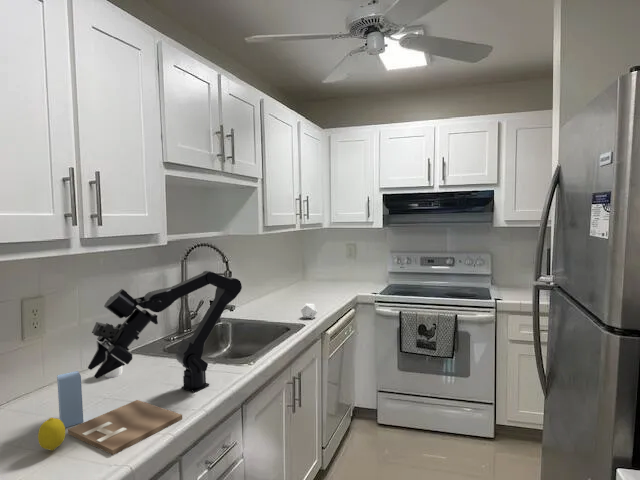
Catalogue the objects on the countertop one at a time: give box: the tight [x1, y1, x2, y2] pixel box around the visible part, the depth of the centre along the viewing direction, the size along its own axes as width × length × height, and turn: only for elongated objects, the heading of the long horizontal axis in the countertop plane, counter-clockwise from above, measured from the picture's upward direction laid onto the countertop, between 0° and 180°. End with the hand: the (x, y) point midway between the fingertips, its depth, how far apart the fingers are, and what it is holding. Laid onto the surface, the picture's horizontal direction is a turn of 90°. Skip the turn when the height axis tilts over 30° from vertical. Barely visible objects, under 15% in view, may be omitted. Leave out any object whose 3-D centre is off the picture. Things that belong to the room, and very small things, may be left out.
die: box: [300, 303, 318, 320], centre depth 228 cm, size 8×9×10 cm
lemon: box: [37, 417, 66, 452], centre depth 99 cm, size 6×6×8 cm
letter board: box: [67, 399, 183, 456], centre depth 110 cm, size 20×20×1 cm
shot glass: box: [104, 366, 123, 378], centre depth 149 cm, size 7×7×7 cm
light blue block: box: [56, 370, 84, 429], centre depth 113 cm, size 5×5×13 cm
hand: (92, 373), depth 117 cm, fingers open, 9 cm apart
